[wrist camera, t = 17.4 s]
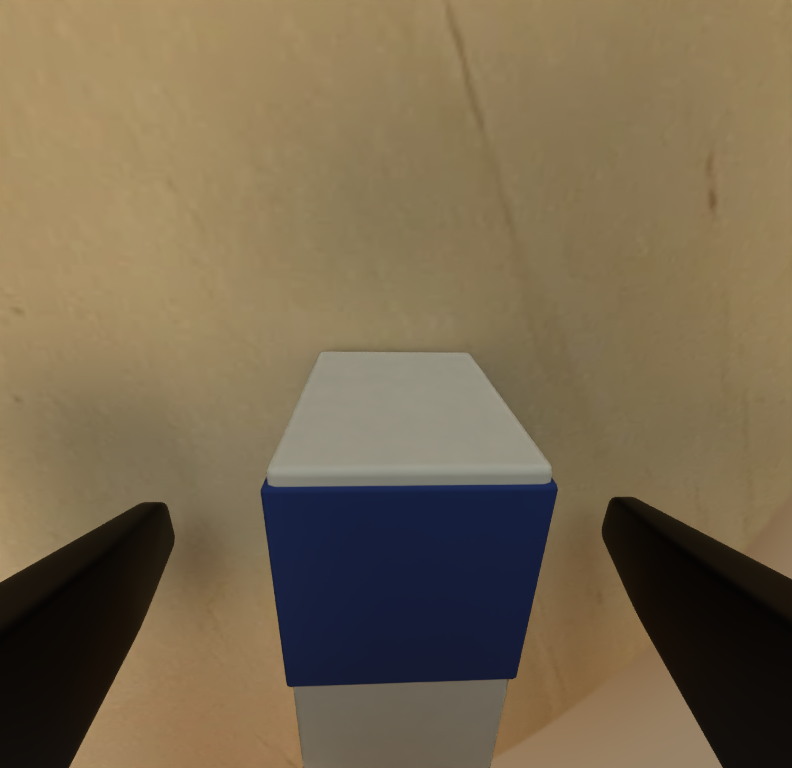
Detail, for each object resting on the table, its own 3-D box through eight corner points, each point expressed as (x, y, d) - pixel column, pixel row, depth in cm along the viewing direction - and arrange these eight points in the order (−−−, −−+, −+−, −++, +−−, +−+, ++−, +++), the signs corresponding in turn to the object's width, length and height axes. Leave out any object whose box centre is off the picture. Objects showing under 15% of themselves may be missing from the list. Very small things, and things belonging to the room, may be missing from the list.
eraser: (449, 571, 10) (494, 783, 6) (329, 573, 10) (299, 793, 6) (472, 350, 8) (564, 470, 4) (316, 349, 8) (256, 472, 4)
